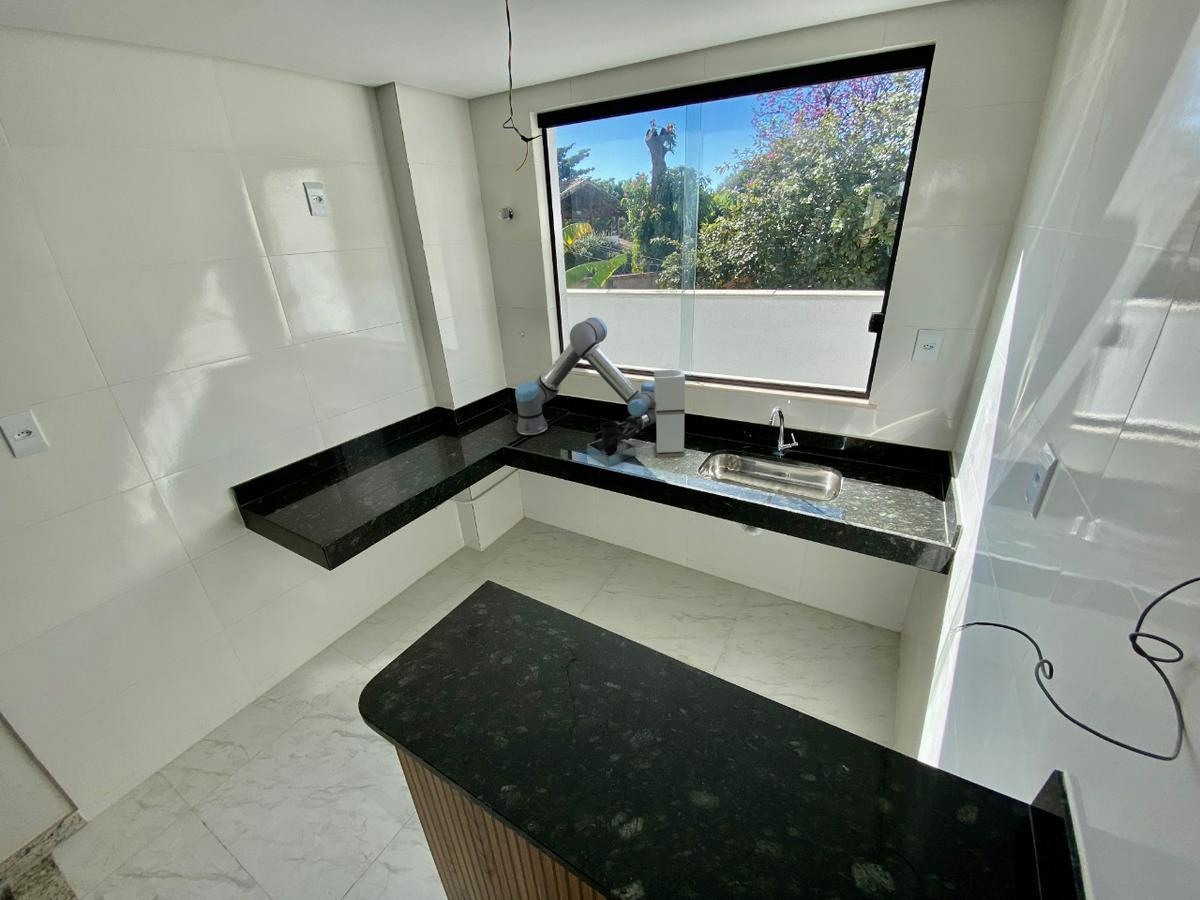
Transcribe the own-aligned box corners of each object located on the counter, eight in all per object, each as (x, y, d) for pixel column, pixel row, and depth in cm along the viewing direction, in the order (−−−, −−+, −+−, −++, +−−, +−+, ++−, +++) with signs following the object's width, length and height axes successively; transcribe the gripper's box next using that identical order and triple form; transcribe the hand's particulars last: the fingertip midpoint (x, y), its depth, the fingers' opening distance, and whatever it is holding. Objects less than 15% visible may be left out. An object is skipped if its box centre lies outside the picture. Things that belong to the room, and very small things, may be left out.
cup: (620, 446, 213) (618, 421, 208) (618, 454, 206) (617, 428, 201) (602, 446, 214) (600, 421, 209) (601, 454, 207) (599, 428, 202)
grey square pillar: (680, 445, 216) (681, 368, 201) (683, 455, 206) (685, 376, 191) (655, 446, 216) (654, 370, 201) (656, 456, 207) (656, 378, 192)
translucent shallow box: (587, 453, 214) (586, 444, 212) (612, 444, 221) (611, 435, 219) (609, 466, 202) (608, 456, 200) (635, 455, 209) (634, 446, 207)
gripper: (654, 435, 214) (620, 454, 199) (620, 425, 227) (585, 441, 212) (654, 419, 210) (619, 437, 196) (619, 410, 224) (584, 426, 209)
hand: (602, 439), depth 204 cm, fingers closed on cup, 8 cm apart
